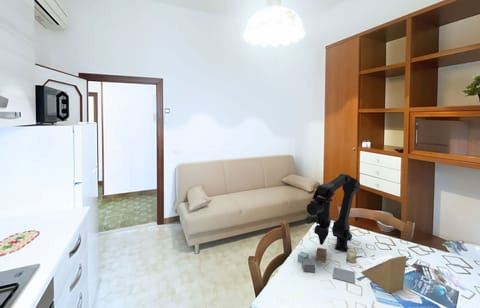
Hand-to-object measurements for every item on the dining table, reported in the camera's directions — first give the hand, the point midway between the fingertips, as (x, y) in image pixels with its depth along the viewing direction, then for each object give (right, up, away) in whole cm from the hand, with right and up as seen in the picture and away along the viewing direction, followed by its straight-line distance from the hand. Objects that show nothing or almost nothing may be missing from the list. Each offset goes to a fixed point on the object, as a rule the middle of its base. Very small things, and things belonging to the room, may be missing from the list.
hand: (322, 240), depth 126 cm
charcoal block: (-9, -11, -8) cm, 16 cm away
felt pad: (+6, -12, -12) cm, 18 cm away
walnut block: (0, -10, +1) cm, 10 cm away
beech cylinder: (+15, -10, 0) cm, 18 cm away
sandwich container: (+21, -12, -15) cm, 29 cm away
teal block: (-10, -10, -1) cm, 14 cm away
